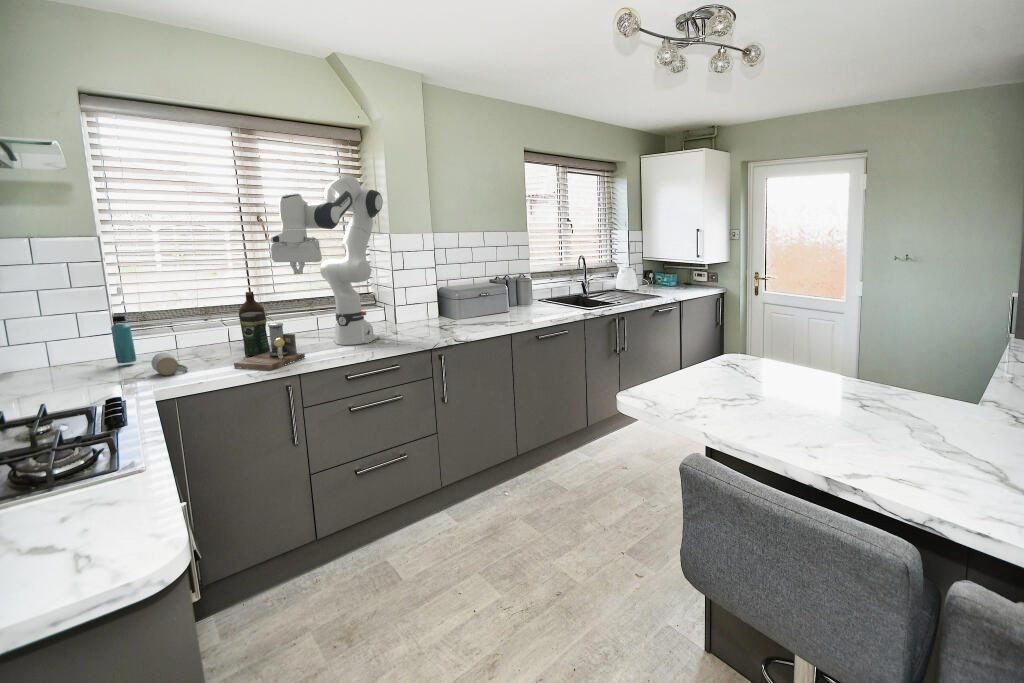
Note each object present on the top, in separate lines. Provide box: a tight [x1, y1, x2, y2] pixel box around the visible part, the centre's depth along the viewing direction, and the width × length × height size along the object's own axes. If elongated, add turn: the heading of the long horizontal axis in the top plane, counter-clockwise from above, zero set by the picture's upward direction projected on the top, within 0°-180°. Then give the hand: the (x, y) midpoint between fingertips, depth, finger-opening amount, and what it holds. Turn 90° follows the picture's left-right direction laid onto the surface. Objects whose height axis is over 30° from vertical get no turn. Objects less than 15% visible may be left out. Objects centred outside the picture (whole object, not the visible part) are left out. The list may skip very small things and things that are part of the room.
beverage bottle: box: [110, 315, 137, 364], centre depth 210 cm, size 6×7×20 cm
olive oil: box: [238, 291, 266, 342], centre depth 241 cm, size 11×11×25 cm
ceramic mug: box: [150, 352, 189, 377], centre depth 198 cm, size 11×8×8 cm
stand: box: [233, 333, 306, 371], centre depth 211 cm, size 20×17×10 cm
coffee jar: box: [240, 312, 271, 357], centre depth 224 cm, size 10×8×19 cm
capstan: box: [267, 322, 288, 359], centre depth 209 cm, size 20×7×13 cm, turn 27°
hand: (298, 274), depth 205 cm, fingers closed
